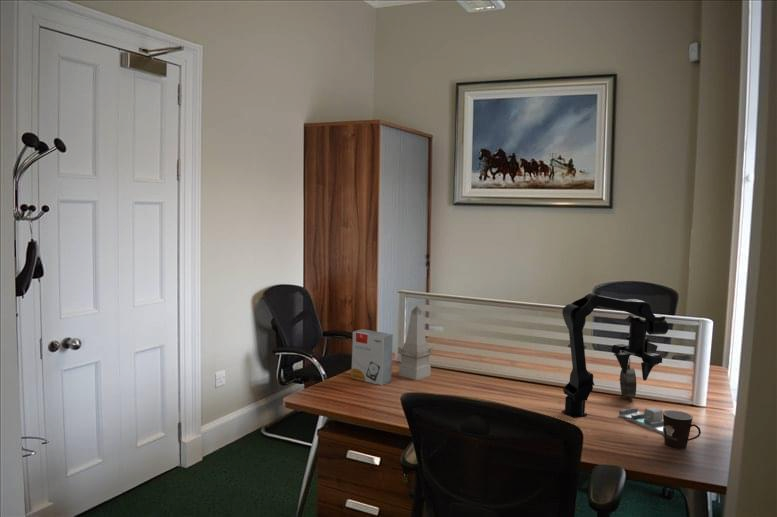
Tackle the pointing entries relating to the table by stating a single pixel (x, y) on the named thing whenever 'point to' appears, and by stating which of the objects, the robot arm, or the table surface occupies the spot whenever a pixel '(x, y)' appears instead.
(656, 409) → the usb wall charger
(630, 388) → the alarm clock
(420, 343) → the miniature monument
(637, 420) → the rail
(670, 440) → the coffee mug
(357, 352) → the hard drive box
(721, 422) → the table surface
